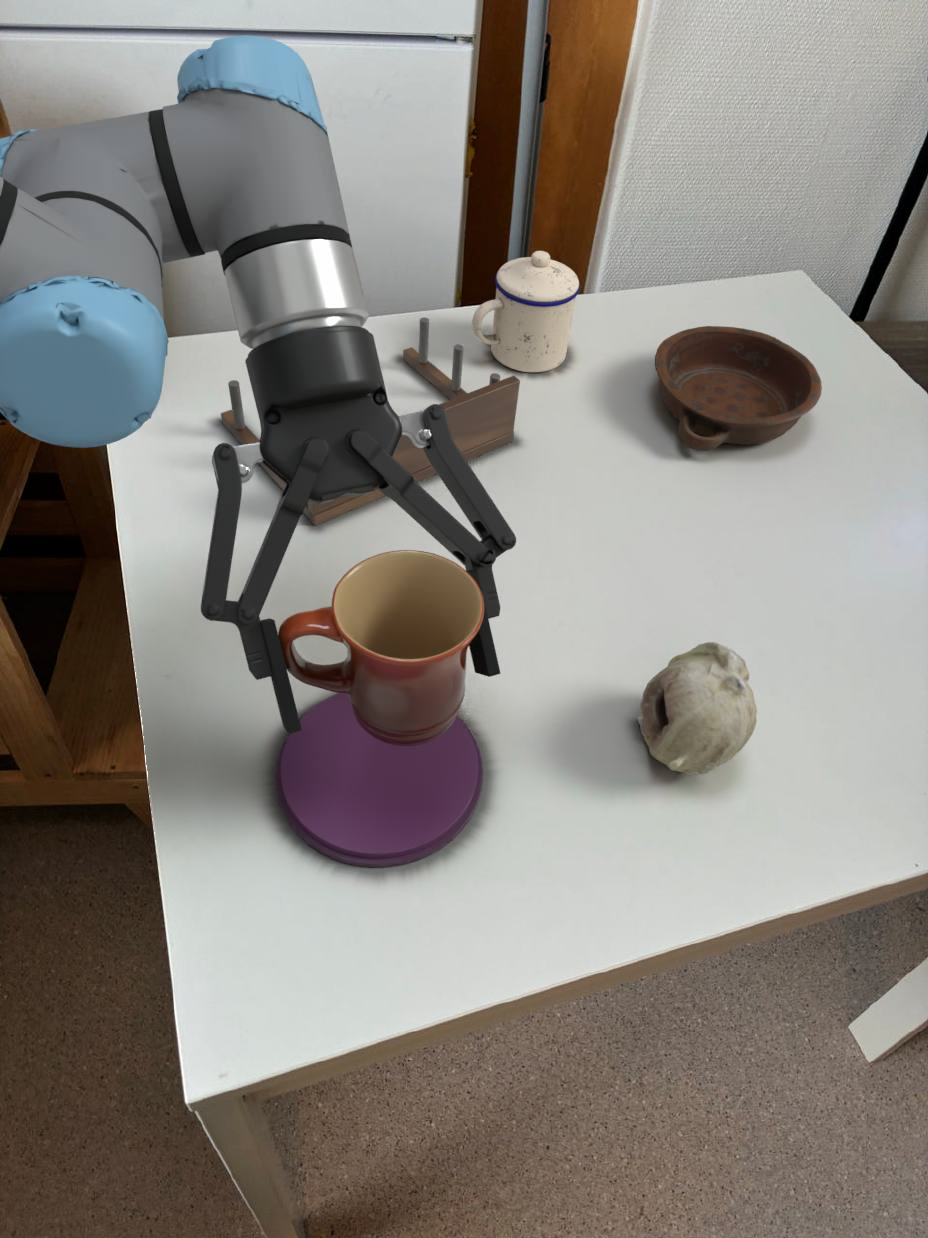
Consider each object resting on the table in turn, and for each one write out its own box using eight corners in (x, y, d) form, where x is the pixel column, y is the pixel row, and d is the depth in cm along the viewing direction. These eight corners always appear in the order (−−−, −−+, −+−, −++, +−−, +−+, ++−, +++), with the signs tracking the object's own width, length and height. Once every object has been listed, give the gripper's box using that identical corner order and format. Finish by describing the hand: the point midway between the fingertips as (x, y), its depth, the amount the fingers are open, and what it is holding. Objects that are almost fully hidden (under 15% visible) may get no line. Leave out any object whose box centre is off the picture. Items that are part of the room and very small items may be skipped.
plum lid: (238, 749, 65) (236, 740, 65) (406, 660, 72) (406, 651, 71) (347, 909, 58) (347, 902, 57) (523, 794, 65) (525, 785, 64)
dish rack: (221, 422, 91) (211, 360, 85) (411, 356, 101) (413, 296, 95) (315, 525, 82) (310, 463, 76) (513, 441, 92) (521, 380, 86)
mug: (461, 650, 63) (471, 544, 55) (482, 756, 57) (496, 655, 50) (286, 665, 61) (272, 557, 53) (291, 776, 56) (275, 674, 48)
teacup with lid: (542, 324, 107) (556, 228, 98) (582, 365, 102) (601, 267, 93) (452, 344, 103) (458, 245, 94) (489, 387, 98) (499, 287, 89)
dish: (608, 427, 94) (617, 386, 91) (690, 338, 107) (701, 299, 103) (766, 493, 89) (783, 453, 85) (833, 390, 102) (850, 351, 98)
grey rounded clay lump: (668, 713, 73) (706, 607, 68) (758, 771, 68) (806, 661, 64) (597, 750, 67) (633, 636, 62) (691, 817, 62) (738, 699, 57)
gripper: (477, 326, 59) (547, 645, 61) (95, 387, 52) (190, 745, 54) (519, 291, 52) (596, 654, 54) (83, 356, 45) (193, 770, 47)
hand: (393, 700), depth 54 cm, fingers closed on mug, 12 cm apart
